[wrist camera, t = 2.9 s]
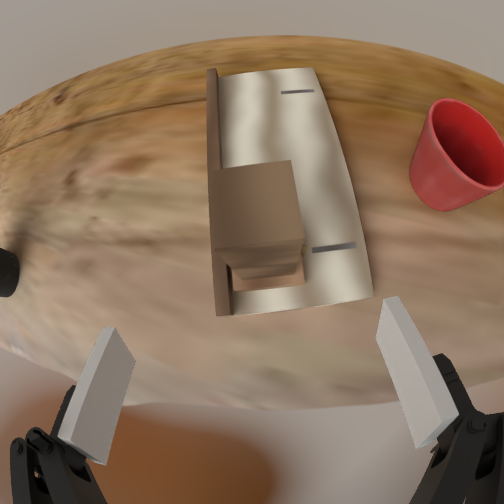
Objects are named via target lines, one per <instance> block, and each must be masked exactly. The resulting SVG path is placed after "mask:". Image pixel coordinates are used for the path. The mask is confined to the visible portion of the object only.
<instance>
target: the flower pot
mask: <svg viewBox="0 0 504 504" xmlns="http://www.w3.org/2000/svg"><path fill="white" fill-rule="evenodd" d="M409 174H410V180H411V184H412V186H413V189H414V190H415V192H416V194H417V195H418V196H419V198H420V199H421V200H422V201H423V202H424V203H425V204H426V205H428V206H429V207H431V208H433V209H435V210H438V211H450V210H453V209H456V208H458V207H461V206H464V205H466V204H468V203H471V202H473V201H475V200H478V199H480V198H482V197H484V196H487V195H489V194H491V193H493V192H495V191H497V190H499V189H501V188H502V187H504V143H503V141H502V139H501V137H500V135H499V134H498V132H497V131H496V129H495V128H494V127H493V126H492V124H491V123H490V122H489V121H488V120H487V119H486V118H485V117H484V116H483V115H482V114H481V113H479V112H478V111H477V110H476V109H474V108H473V107H471V106H469V105H468V104H466V103H464V102H461V101H459V100H456V99H451V98H443V99H439V100H437V101H435V102H434V103H433V104H432V106H431V107H430V109H429V111H428V114H427V117H426V120H425V123H424V126H423V129H422V132H421V135H420V138H419V141H418V144H417V147H416V150H415V153H414V156H413V159H412V162H411V165H410V171H409Z"/></svg>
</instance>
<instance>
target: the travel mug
mask: <svg viewBox="0 0 504 504" xmlns="http://www.w3.org/2000/svg"><path fill="white" fill-rule="evenodd" d="M18 279H19V263H18V259H17V257H16V256H15V255H14V254H13V253H11V252H9V251H7V250H4V249H2V248H0V297H9V296H11V295H12V294H13V292H14V291H15V289H16V286H17V283H18Z"/></svg>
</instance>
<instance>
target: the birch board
mask: <svg viewBox="0 0 504 504" xmlns="http://www.w3.org/2000/svg"><path fill="white" fill-rule="evenodd" d="M285 160H291V163H292V169H293V174H294V179H295V185H296V190H297V196H298V202H299V208H300V214H301V220H302V226H303V232H304V241H303V244H305V245H306V246H307V250H306V253H305V254H304V255H301V257H302V265H303V272H304V280H305V283H304V285H299V286H291V287H283V288H274V289H266V290H256V291H247V292H237V293H236V292H235V291H233V279H232V269H231V268H230V267H229V266H228V264H227V263H226V262H225V261H224V260H223V259H222V258H221V257H220V256H219V254H218V253H217V252H216V251H215V250H214V249H213V233H212V214H211V193H210V171H211V170H217V169H223V168H230V167H237V166H244V165H251V164H259V163H267V162H276V161H285ZM207 165H208V194H209V217H210V237H211V254H212V269H213V283H214V297H215V309H216V316H222V317H229V316H240V315H251V314H261V313H270V312H279V311H288V310H296V309H304V308H311V307H319V306H326V305H333V304H339V303H346V302H352V301H359V300H365V299H369V298H373V297H374V292H373V286H372V279H371V273H370V267H369V261H368V256H367V250H366V245H365V240H364V235H363V230H362V225H361V221H360V216H359V212H358V208H357V203H356V199H355V195H354V191H353V187H352V184H351V180H350V176H349V172H348V169H347V165H346V162H345V158H344V155H343V151H342V148H341V145H340V142H339V138H338V135H337V132H336V129H335V126H334V123H333V120H332V117H331V114H330V111H329V109H328V106H327V103H326V100H325V97H324V95H323V92H322V89H321V87H320V84H319V82H318V79H317V77H316V74H315V72H314V69H313V68H293V69H279V70H268V71H258V72H250V73H242V74H236V75H229V76H223V77H218V74H217V70H216V68H213V69H207Z"/></svg>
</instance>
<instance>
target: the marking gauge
mask: <svg viewBox="0 0 504 504" xmlns="http://www.w3.org/2000/svg"><path fill="white" fill-rule="evenodd" d="M210 193H211V214H212V233H213V249H214V250H215V251H216V252H217V253H218V254H219V256H220V257H221V258H222V259H223V260H224V261H225V262H226V263H227V264H228V266H229V267H230V268H231V269H232V279H233V291H235V292H236V293H237V292H247V291H256V290H266V289H274V288H283V287H291V286H299V285H304V283H305V280H304V272H303V265H302V257H301V255H304V254H305V253H306V250H307V246H306V245H305V244H303V241H304V232H303V226H302V220H301V214H300V208H299V202H298V196H297V190H296V185H295V179H294V174H293V169H292V163H291V160H285V161H276V162H267V163H259V164H251V165H244V166H237V167H230V168H223V169H217V170H211V171H210Z"/></svg>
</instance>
